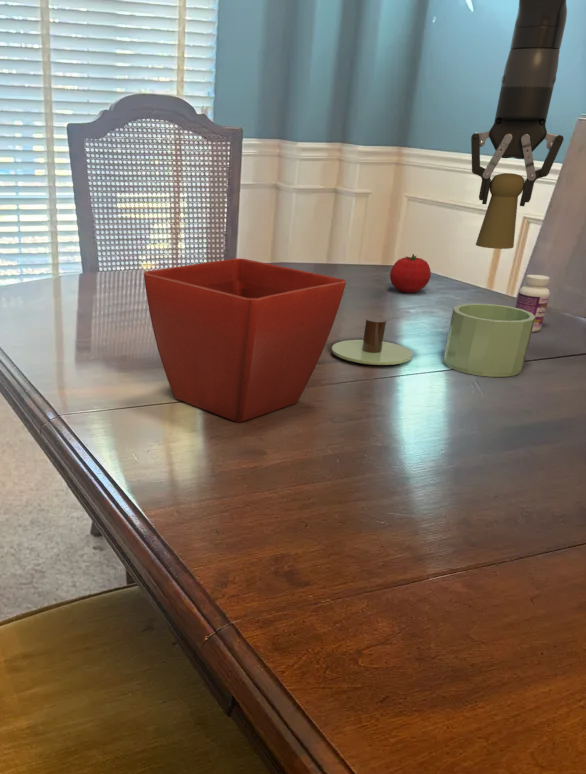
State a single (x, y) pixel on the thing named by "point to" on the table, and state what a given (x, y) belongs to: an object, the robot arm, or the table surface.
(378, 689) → the table surface
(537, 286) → the pill bottle
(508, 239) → the pepper mill
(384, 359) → the pot lid
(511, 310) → the pot
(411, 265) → the tomato
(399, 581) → the table surface
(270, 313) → the flower pot
